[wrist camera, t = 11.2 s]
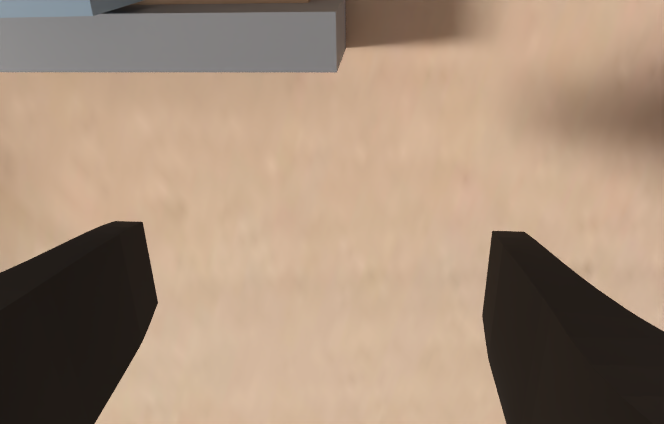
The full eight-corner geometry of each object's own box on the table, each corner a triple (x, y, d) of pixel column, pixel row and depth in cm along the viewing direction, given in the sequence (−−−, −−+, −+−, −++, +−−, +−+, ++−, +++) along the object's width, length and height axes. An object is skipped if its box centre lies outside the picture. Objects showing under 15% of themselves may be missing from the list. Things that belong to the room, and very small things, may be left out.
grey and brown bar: (344, -38, 18) (335, -30, 15) (345, 47, 19) (336, 72, 16) (-236, -28, 20) (-353, -19, 17) (-203, 49, 21) (-307, 71, 18)
